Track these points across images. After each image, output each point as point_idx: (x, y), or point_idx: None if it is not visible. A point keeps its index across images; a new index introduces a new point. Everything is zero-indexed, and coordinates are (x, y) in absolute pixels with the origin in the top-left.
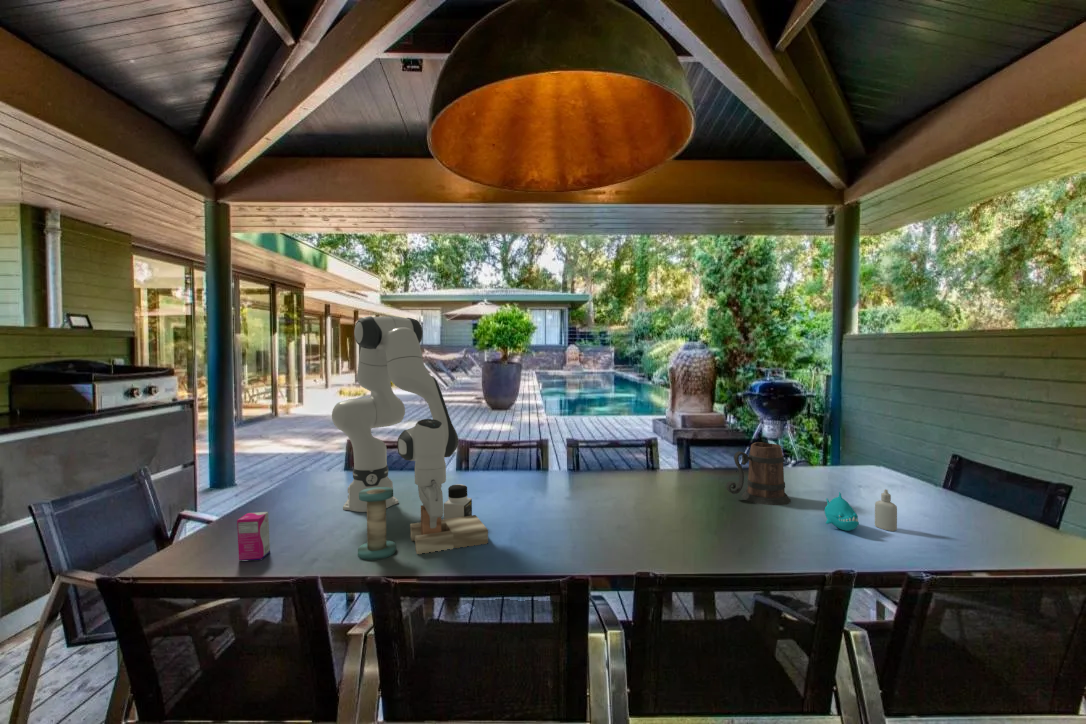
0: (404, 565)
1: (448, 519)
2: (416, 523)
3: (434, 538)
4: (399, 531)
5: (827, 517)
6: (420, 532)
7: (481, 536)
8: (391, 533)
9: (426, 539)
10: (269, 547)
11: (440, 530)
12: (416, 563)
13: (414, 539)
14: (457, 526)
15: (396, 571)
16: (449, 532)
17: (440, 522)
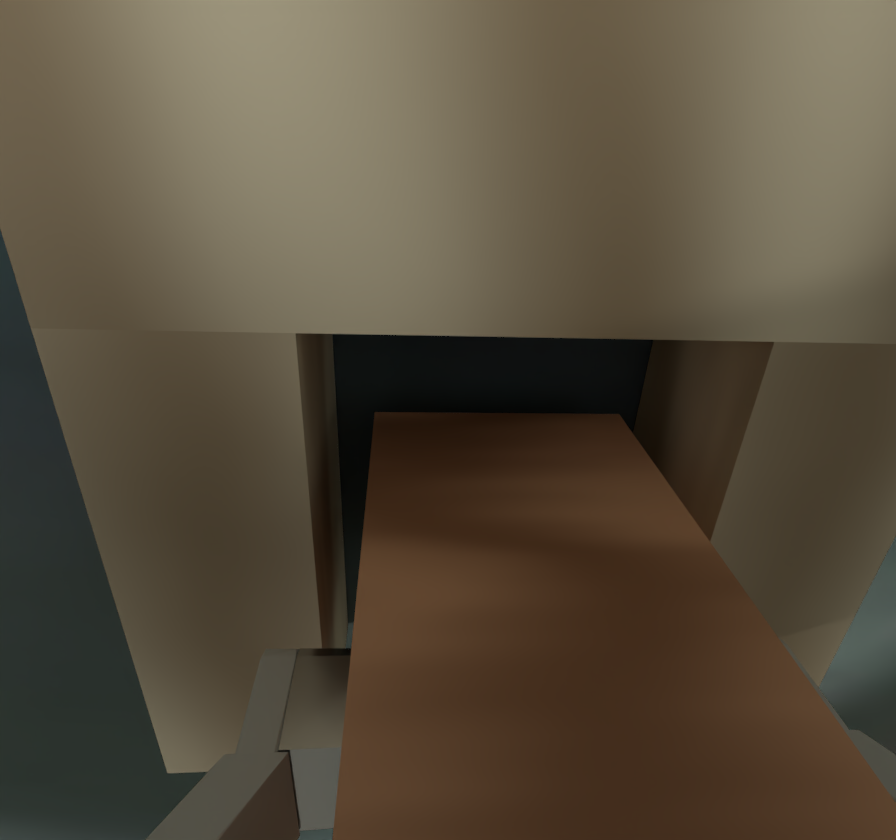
0: (836, 700)
1: (65, 228)
2: (173, 718)
3: (853, 590)
4: (10, 691)
5: None
6: (333, 621)
7: None
8: (61, 743)
9: (821, 669)
10: None
11: (670, 498)
12: (870, 635)
13: (347, 617)
14: (634, 146)
15: (888, 740)
16: (838, 382)
17: (736, 598)
